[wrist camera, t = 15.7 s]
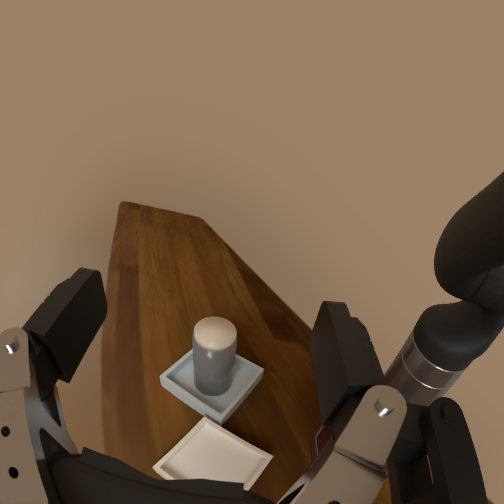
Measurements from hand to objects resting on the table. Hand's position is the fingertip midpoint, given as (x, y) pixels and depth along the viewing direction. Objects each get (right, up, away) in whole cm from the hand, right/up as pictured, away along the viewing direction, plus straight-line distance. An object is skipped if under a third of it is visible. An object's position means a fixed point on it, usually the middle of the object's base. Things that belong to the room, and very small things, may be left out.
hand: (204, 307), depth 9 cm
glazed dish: (-4, -18, +29) cm, 35 cm away
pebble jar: (-4, -17, +29) cm, 34 cm away
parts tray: (-3, -25, +17) cm, 30 cm away
